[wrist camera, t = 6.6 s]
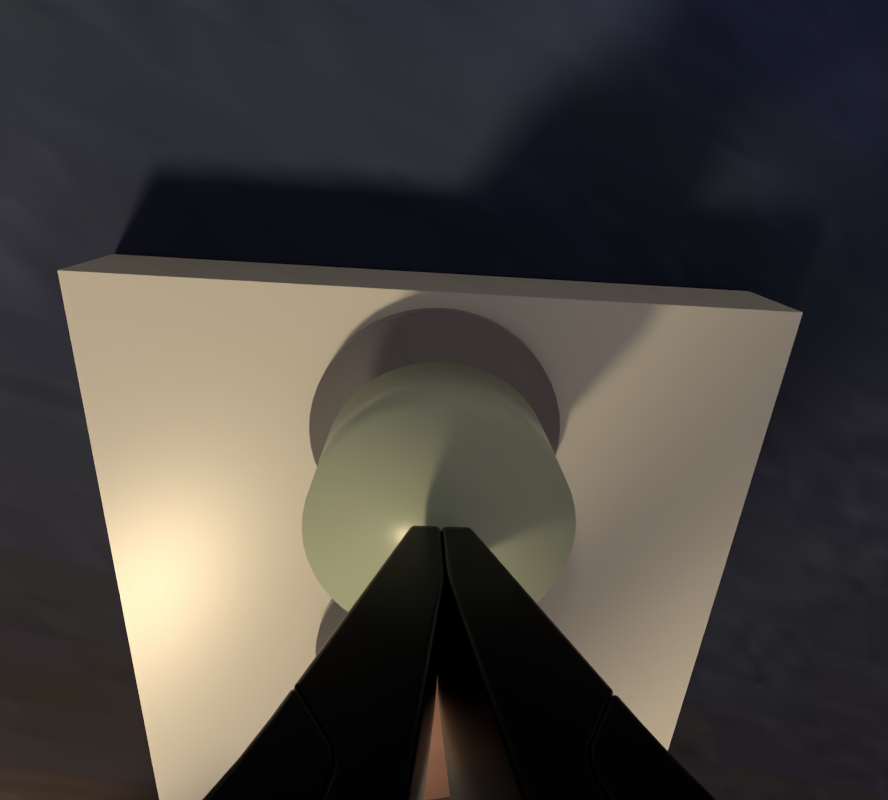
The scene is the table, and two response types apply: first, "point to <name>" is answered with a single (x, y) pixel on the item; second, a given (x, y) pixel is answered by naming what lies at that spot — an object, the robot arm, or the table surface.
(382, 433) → the sage button
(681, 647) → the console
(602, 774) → the robot arm
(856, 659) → the table surface
